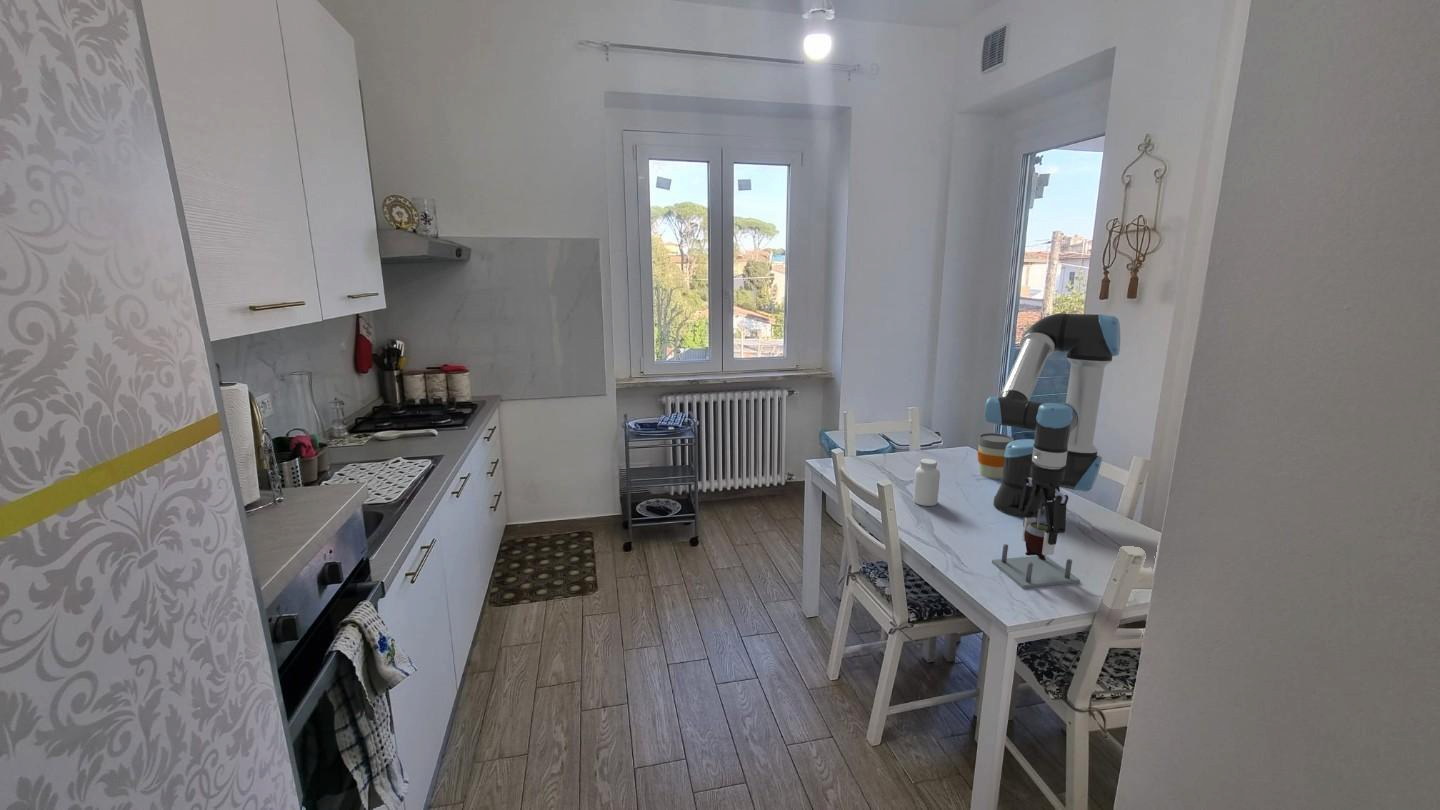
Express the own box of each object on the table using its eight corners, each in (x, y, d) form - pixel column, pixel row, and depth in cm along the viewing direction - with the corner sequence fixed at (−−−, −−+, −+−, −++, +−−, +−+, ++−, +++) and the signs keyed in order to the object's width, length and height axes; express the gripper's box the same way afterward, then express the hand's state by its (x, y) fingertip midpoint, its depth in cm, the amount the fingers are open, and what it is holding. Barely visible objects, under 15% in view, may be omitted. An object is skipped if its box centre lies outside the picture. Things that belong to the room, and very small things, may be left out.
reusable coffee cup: (982, 480, 216) (986, 442, 213) (969, 469, 229) (972, 432, 225) (1016, 480, 216) (1020, 442, 212) (1001, 468, 228) (1005, 432, 225)
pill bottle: (942, 504, 196) (946, 463, 192) (923, 508, 193) (926, 466, 189) (926, 496, 203) (929, 455, 199) (908, 499, 200) (910, 459, 196)
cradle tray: (1044, 557, 160) (1047, 538, 159) (1079, 582, 147) (1082, 562, 146) (991, 562, 158) (993, 543, 156) (1022, 588, 145) (1025, 567, 144)
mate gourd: (1042, 547, 155) (1048, 495, 151) (1060, 562, 147) (1068, 507, 144) (1015, 548, 154) (1021, 496, 151) (1032, 563, 147) (1039, 508, 143)
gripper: (1009, 453, 154) (1000, 531, 160) (1063, 479, 135) (1050, 567, 141) (1035, 451, 155) (1025, 529, 161) (1091, 477, 136) (1078, 564, 142)
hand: (1037, 546), depth 151 cm, fingers closed on mate gourd, 7 cm apart
